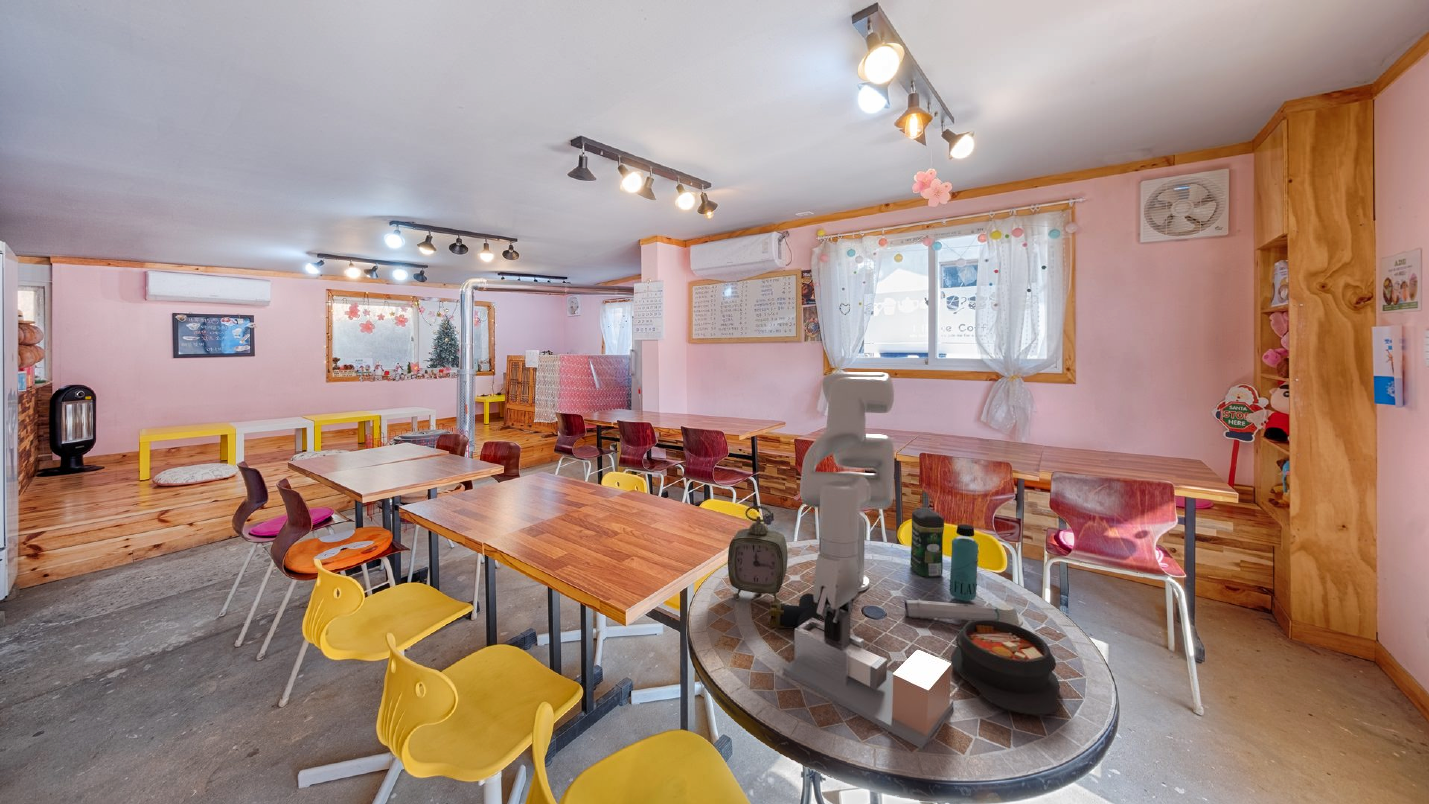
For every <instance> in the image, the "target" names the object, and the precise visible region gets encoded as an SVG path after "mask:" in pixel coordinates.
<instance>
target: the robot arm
mask: <svg viewBox="0 0 1429 804" xmlns="http://www.w3.org/2000/svg"><path fill="white" fill-rule="evenodd" d="M822 379H823V380H822V391H823V394H824V397H825V399H826V402H827V405H828V406H827V417H826V428H825V429H826V430H825V431H824V432H823V433H822V434H820V436H819V437H817V438H816V439H815V440H814V441H813V443H812V444H811V445H810V446H809V448H808V450H806V452H805V454H804V457H803V461H802V466H801V467H802V468H801V474H800V475H801V476H800V483H799V494H800V499H801V502H802V503H803V504H804V505H805V506H808V507H809V508H810V507H811V508H819V529H818V530H819V536H818V537H819V539H818V540H819V547H818V555H817V558H816V565H815V570H814V581H813V598H814V602H815V603H819V605H818V608H817V614H819V615H820V616H822V618H823V619H824V635H825V637H827V638H829V639H831V640H833V641H836V642H839V641H840V622H839V621H838V617H839V609H842V610H844V611H847V612H849V613H851V614H852V611H853V605H852V604H853V602H854V599H855V597H856V596H857V595H858V594H859V593H860V592H863V591H865V590H868V589H869V588H870V579H869V577H867V575H866V574H865V549H866V548H865V546H866V545H865V544H866V543H865V539H866V523H865V522H866V521H865V519H864V517H863V516H862V515H861V513H860V512H861V511H863V510H864V509H870V510H871V509H873V510H887V509H889V508H891V506H892V505H893V500H894V491H895V489H894V488H895V483H894V482H895V447H894V443H893V440H892V439H891V438H890V437H889V436H888V435H884V434H873V433H870V434H869V433H867V432H866V422H867V421H866V419H867V416H866V413H867V414H887V413H889V412H890V411H891V410H892V408H893V406H894V405H893V404H894V400H895V393H894V392H895V389H894V384H893V381H892V377H891V376H890V374H889V373H886V372H861V371H860V372H859V371H857V372H856V371H855V372H854V371H853V372H852V371H844V372H841V371H840V372H833V373H831V372H830V373H829V374H826V375H825V376H824V377H823V378H822ZM830 456H833V460H834V463H835V464H836V466H839V467H841V468H846V469H847V468H848V469H860V470H873V471H875V473H870V472H869V473H868V472H859V471H836V472H832V471H831V472H827V471H816V469H817V467H818V465H819V464H820V462H822V461H823V460H824V459H826V458H827V457H830ZM829 608H830V609H832V610H833V613H832V612H831V611H829Z"/></svg>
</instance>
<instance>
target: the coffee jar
mask: <svg viewBox="0 0 1429 804" xmlns="http://www.w3.org/2000/svg"><path fill="white" fill-rule="evenodd" d="M944 529H945V518H944V517H943V516H942V515H941V514H940V513H938V512H937V511H935V510H933V509H931V508H930V507H917V508H915V509H914V510H913V511H912V512H911V542H910V544H911V545H910V547H911V548H910V564H909V565H910V567H911V568H912V570H913V571H914V573H916V574H917V575H919V576H922V577H927V578H937V577H941V576H942V575H943V567H944V566H943V565H944V564H943V559H944V558H943V550H944V546H943V542H944V541H943V539H944Z"/></svg>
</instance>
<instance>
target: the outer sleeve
mask: <svg viewBox="0 0 1429 804" xmlns="http://www.w3.org/2000/svg"><path fill="white" fill-rule="evenodd" d="M814 628H817V629H819V630H821V631H824V622H823V621H821V620H820V621H819V620H817V619H815V618H811V619H809V620H808V621H806V622H805V623H803V624H802V625H800V626H799V627H797V628H794V649H793V650H794V651H793V652H794V653H793V654H794V655H793V656H794V657H793V658H794V659H793V660H796V661H798V662H800V663H802V664H804V665H806V666H808V667H810V668H812V669H814V670H816V671H818V672H820V673H822V674H824V675H825V676H827V677H829V678H831V679H833V680H835V681H837V682H839V683H841V684H843V685H845V686H847V685H848V684H849V683H850V682H851V681H852V680H853V679H854V678H852V677H850V676H848V670H849V655H850V650H849V649H846V648H844V647H842V646H840V645H838V644H835V643H833V642H831V641H829V640H827V639H824V638H822V637H820V636H818V635H816V634H813V633H811V632H809V631H811V630H812V629H814ZM850 643H851V644H853V645H855V646H857V647H860V648H862V649H864V639H863V638H862V637H859V636H857V635H854V634H851V633H850Z"/></svg>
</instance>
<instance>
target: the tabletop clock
mask: <svg viewBox="0 0 1429 804" xmlns="http://www.w3.org/2000/svg"><path fill="white" fill-rule="evenodd" d="M753 509H760V510H763V511H767V512H768V514H769V517H768V518H764V519H762V517H761V516H759V515H757V516H756V518H754V517H751V516H749V514H748V512H749V511H750V510H753ZM744 514H745V517H746V518H747V519H748V520H750V521H752V522H753V523H751V524H750V526H749V528H742V529H739V530H738V531H737V532H736V533H735V535H734V537H732V539H731V541H730V543H729V547H728V552H727V553H728V554H727V571H728V579H729V582H730V584H731V586H732V587H733V588H735V589H736V590H737V592H735V593H734V594H733V599H734V600H737V601H738V600H739V599H740V597H741V596H740V593H741V591H744V592H748V593H753V594H758V595H759V594H761V595H762V594H765V595H766V594H767V595H768V594H769V595H770V594H771V595H772V596H773V599H774V600H773V602H776V603H781V601H780V599H779V598H777V594H778V593H779V592H780V590H781V588H782V586H783V584H784V581H785V577H786V574H787V569H788V561H789V560H788V559H789V558H788V545H787V541H786V537H785V535H784V534H783V533H781V532H778V531H775V530H770V529H769V527H768V526H767V525H766V524H765V522H768V521H771V519H772V516H773V515H772V512H771V510H770V509H769V508H767V507H765V506H762V505H752V506H749V507H748V508H746V510H745V513H744Z"/></svg>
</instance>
